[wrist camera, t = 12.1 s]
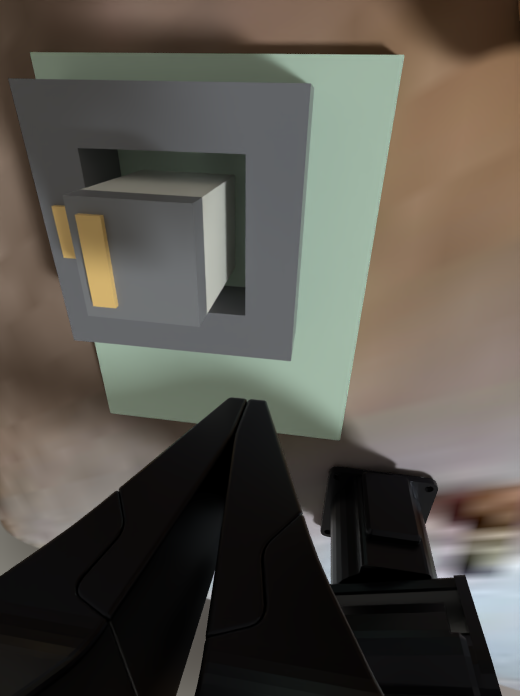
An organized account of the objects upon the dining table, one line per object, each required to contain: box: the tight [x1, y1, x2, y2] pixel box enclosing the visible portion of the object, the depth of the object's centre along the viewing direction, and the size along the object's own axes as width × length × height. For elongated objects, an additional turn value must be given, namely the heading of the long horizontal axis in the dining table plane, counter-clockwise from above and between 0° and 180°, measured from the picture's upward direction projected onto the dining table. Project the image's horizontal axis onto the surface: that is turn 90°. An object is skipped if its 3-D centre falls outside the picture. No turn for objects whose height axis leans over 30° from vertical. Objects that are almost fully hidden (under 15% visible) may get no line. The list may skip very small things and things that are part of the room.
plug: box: [62, 170, 235, 327], centre depth 15 cm, size 4×4×6 cm
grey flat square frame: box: [8, 78, 314, 361], centre depth 16 cm, size 10×10×3 cm
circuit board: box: [30, 52, 404, 441], centre depth 20 cm, size 18×14×1 cm
